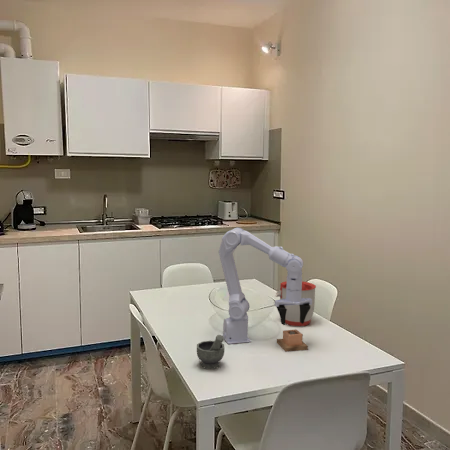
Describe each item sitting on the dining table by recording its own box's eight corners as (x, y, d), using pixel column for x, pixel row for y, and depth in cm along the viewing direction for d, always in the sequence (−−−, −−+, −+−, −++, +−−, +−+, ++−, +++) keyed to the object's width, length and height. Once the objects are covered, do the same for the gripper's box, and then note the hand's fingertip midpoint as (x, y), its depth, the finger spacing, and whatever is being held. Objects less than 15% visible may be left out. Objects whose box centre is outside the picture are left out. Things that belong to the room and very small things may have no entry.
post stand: (285, 351, 170) (285, 337, 169) (276, 342, 178) (276, 329, 178) (307, 349, 172) (308, 335, 172) (297, 340, 181) (298, 327, 180)
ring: (288, 346, 172) (288, 335, 171) (282, 340, 177) (282, 330, 176) (302, 344, 173) (302, 334, 173) (295, 339, 178) (296, 329, 178)
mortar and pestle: (190, 363, 158) (191, 330, 157) (212, 357, 164) (213, 324, 163) (210, 375, 150) (210, 340, 148) (232, 368, 155) (233, 334, 154)
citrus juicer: (273, 316, 210) (274, 273, 208) (311, 317, 210) (313, 274, 207) (276, 328, 195) (277, 282, 192) (317, 329, 194) (319, 283, 192)
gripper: (279, 292, 167) (278, 328, 168) (316, 290, 171) (314, 325, 172) (272, 287, 174) (271, 322, 175) (308, 285, 177) (306, 319, 179)
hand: (292, 323), depth 174 cm, fingers open, 7 cm apart
